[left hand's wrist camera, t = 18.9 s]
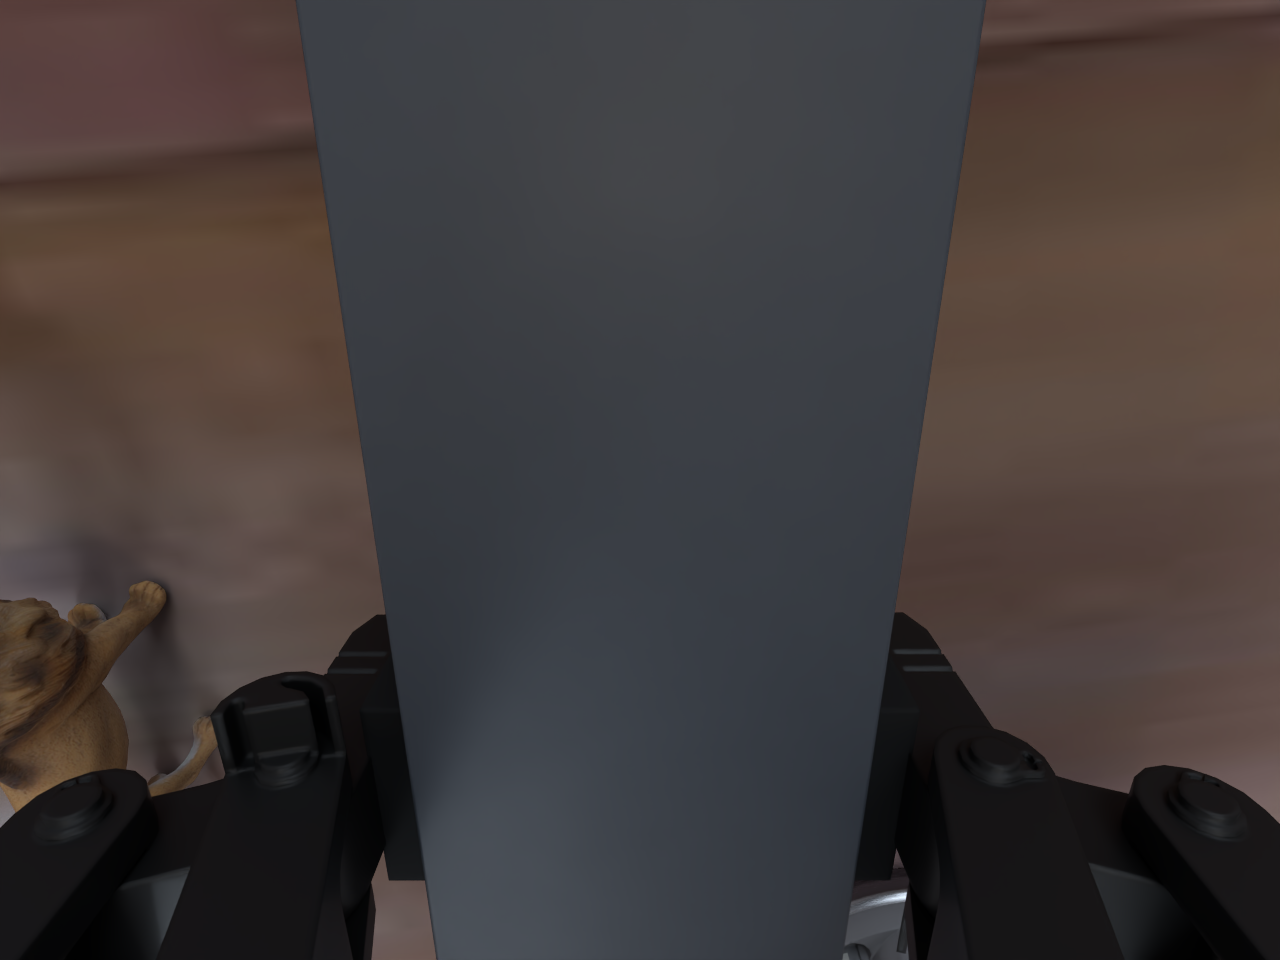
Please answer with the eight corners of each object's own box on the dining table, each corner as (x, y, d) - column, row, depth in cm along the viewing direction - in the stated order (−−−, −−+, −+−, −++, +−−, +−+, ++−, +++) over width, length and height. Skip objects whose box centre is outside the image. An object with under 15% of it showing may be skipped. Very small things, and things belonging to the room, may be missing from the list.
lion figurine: (-19, 527, 25) (-343, 686, 17) (115, 491, 25) (-151, 636, 17) (181, 828, 31) (8, 1065, 22) (296, 803, 30) (163, 1035, 22)
